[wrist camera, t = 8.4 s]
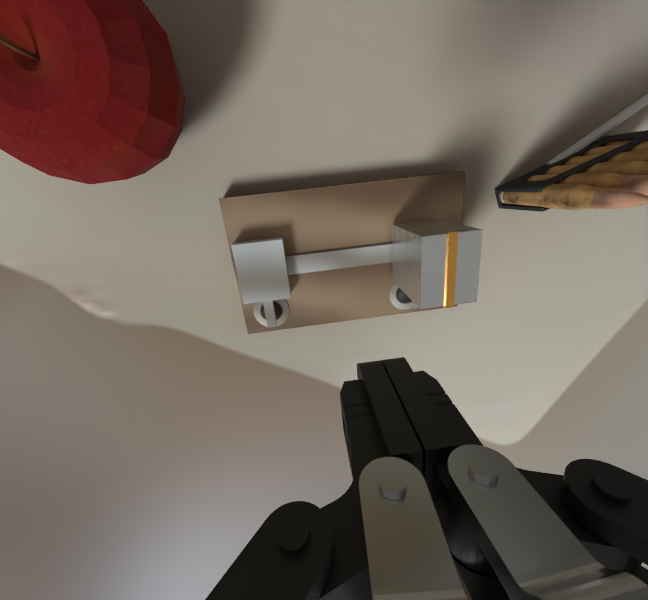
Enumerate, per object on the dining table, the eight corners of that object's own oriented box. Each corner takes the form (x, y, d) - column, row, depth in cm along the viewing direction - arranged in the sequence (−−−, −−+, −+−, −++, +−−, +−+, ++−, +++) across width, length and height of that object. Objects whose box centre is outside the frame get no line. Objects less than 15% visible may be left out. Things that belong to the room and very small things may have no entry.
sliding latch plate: (223, 197, 26) (214, 199, 23) (455, 171, 27) (475, 170, 24) (250, 326, 30) (245, 341, 27) (449, 300, 31) (465, 312, 28)
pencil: (719, 58, 25) (552, 173, 27) (707, 55, 26) (544, 168, 28) (725, 46, 24) (553, 165, 26) (713, 44, 25) (545, 160, 27)
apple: (54, 161, 24) (-152, 142, 13) (49, -11, 20) (-240, -241, 9) (202, 199, 25) (133, 210, 15) (220, 47, 22) (148, -87, 11)
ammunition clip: (610, 135, 27) (838, 98, 15) (611, 156, 27) (832, 136, 16) (493, 189, 27) (632, 191, 16) (498, 208, 28) (634, 224, 17)
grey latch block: (391, 223, 26) (422, 235, 19) (438, 217, 26) (484, 228, 20) (393, 307, 28) (421, 341, 22) (435, 301, 28) (475, 334, 22)
